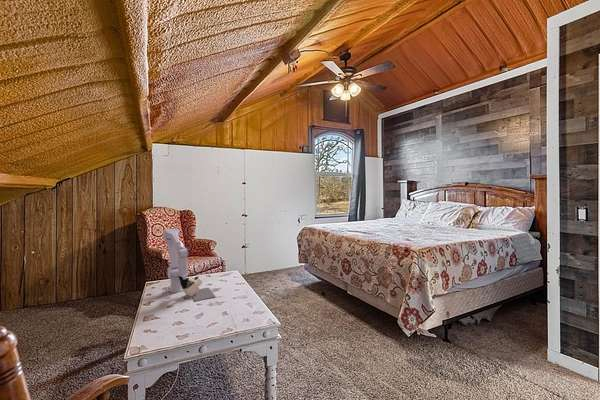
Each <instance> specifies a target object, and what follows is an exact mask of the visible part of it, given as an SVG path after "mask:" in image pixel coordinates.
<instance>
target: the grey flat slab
mask: <svg viewBox="0 0 600 400" xmlns="http://www.w3.org/2000/svg"><path fill="white" fill-rule="evenodd" d="M191 298H192V299H193V301H194V302H199V301H204V300H205V301H206V300H209V299H213V298H216V295H215V294H214V293H213V291H212V289H210V288H209V287H204V288H199V290H198V291H197V292H196V293H195V294H194V295H193V296H192V297H191Z"/></svg>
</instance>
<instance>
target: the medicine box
mask: <svg viewBox="0 0 600 400" xmlns="http://www.w3.org/2000/svg"><path fill="white" fill-rule="evenodd" d="M202 284H203V280H202V279H201V278H200V276H195V277H193V279H192V280H191V279H189V280H188V282H187V287H186V288H185V289H183V288H182V287H181V288H182V290H183V291H182V292H184V294H185V295H187V296H188V297H191V298H193V297H192V296H193V295H194V294H195V293H196V292H197V291H198V290H199V289H200V286H202Z"/></svg>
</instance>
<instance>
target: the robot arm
mask: <svg viewBox="0 0 600 400" xmlns="http://www.w3.org/2000/svg"><path fill="white" fill-rule="evenodd" d="M179 235H180V230H179V228H176V227H175V228H171V229H170V228H169V229H167V228H166V229H163V230H162V238H163V242H164V243H166V245H167V250H168V256H169V261H170V263H169V264H170V265H169V266H168V268H167V270H166V271H167V273H166V274H167V277H168V279H170V287H169V291H170V293H171V294H172V293H177V292H184V291H183V290H182V288H183V289H185V288H186V287H187V282H188V280H190V278H189V277H187V276H188V275H189V273H188V272H189V270H188V257H189V255H190V253H189V249H188V247H185V245H184V243H183V242H182V241H180V238H179ZM181 287H182V288H181Z"/></svg>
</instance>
